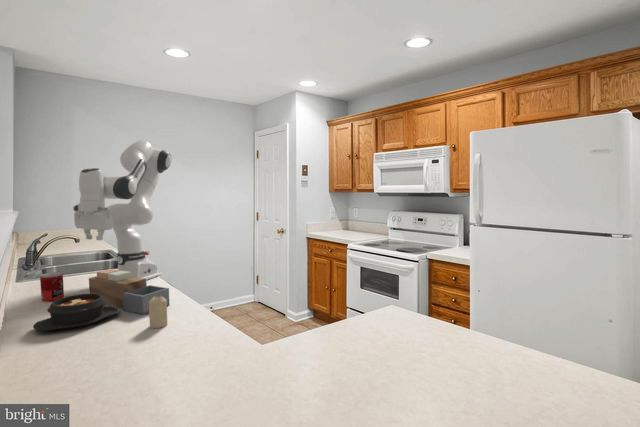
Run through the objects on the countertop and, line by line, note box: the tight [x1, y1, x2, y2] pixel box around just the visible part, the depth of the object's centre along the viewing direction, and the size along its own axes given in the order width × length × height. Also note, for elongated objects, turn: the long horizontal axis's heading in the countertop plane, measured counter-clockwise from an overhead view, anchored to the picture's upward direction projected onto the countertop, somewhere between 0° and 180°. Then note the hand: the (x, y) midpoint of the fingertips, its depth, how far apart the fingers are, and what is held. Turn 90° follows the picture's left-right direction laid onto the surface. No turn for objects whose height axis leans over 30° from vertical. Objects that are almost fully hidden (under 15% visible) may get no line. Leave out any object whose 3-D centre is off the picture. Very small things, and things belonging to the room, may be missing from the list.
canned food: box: [39, 271, 65, 303], centre depth 156 cm, size 8×8×11 cm
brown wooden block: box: [88, 275, 147, 310], centre depth 151 cm, size 9×23×10 cm, turn 64°
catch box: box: [123, 284, 170, 316], centre depth 143 cm, size 12×11×7 cm
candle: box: [148, 296, 168, 329], centre depth 125 cm, size 6×6×10 cm
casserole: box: [32, 293, 119, 332], centre depth 128 cm, size 25×19×8 cm
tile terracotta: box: [96, 268, 120, 279], centre depth 153 cm, size 6×6×2 cm
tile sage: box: [108, 271, 131, 281], centre depth 150 cm, size 6×6×2 cm
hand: (94, 239), depth 155 cm, fingers open, 5 cm apart
